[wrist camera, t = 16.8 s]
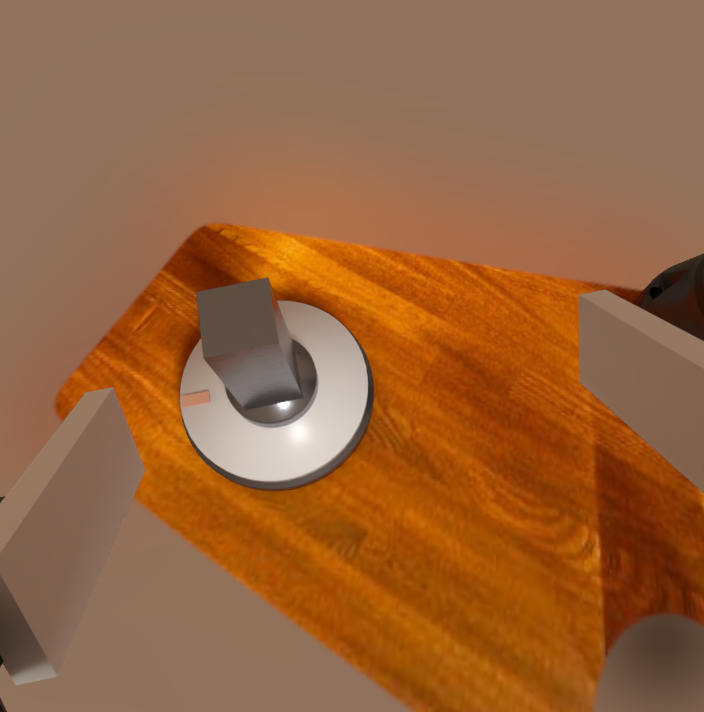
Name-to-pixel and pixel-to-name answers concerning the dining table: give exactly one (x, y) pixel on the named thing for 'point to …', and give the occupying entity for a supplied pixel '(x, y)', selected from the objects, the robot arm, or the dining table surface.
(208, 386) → the turntable platter
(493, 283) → the dining table surface
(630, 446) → the dining table surface
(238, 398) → the square post on disc
